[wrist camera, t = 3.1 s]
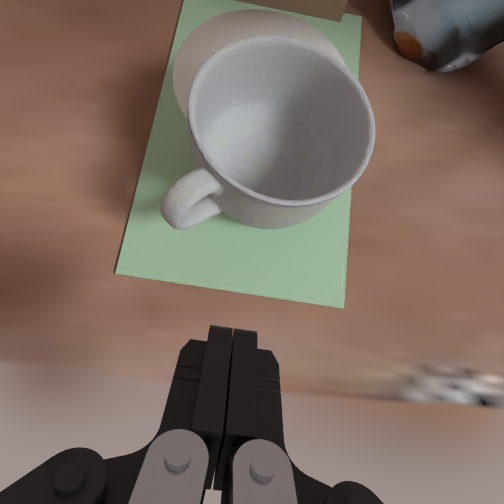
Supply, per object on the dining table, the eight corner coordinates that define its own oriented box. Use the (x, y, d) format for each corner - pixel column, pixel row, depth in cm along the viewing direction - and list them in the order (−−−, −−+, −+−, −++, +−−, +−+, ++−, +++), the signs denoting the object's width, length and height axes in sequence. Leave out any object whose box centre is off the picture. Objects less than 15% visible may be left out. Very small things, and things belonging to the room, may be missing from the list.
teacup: (285, 97, 29) (310, 7, 22) (360, 203, 27) (417, 146, 20) (129, 170, 26) (94, 95, 19) (202, 295, 24) (197, 271, 17)
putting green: (361, 18, 33) (372, -8, 30) (342, 308, 25) (356, 304, 23) (188, -18, 32) (186, -48, 29) (116, 274, 24) (105, 265, 22)
